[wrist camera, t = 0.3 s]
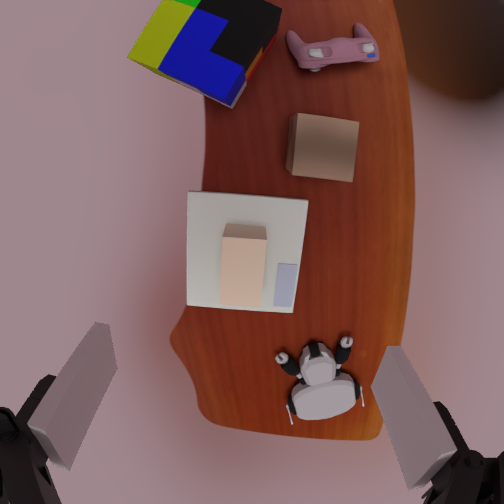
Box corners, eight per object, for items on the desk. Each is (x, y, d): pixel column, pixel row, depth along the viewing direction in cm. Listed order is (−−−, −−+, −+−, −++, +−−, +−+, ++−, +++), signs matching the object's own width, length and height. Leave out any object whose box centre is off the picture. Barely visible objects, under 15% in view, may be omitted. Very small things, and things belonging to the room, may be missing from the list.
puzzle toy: (232, 109, 34) (224, 99, 24) (158, 74, 32) (127, 57, 23) (275, 39, 30) (282, 8, 21) (200, 7, 29) (183, -29, 19)
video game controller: (288, 64, 33) (303, 79, 28) (281, 30, 29) (295, 38, 25) (364, 54, 32) (390, 68, 27) (360, 21, 29) (387, 29, 24)
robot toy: (269, 343, 46) (290, 411, 50) (270, 361, 41) (292, 429, 45) (350, 323, 45) (359, 394, 49) (358, 339, 40) (365, 411, 44)
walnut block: (289, 117, 34) (298, 112, 27) (340, 123, 34) (359, 122, 27) (285, 167, 36) (292, 175, 29) (335, 173, 36) (352, 182, 30)
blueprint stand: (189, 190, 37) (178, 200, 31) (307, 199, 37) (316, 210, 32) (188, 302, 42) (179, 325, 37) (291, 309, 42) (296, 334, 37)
